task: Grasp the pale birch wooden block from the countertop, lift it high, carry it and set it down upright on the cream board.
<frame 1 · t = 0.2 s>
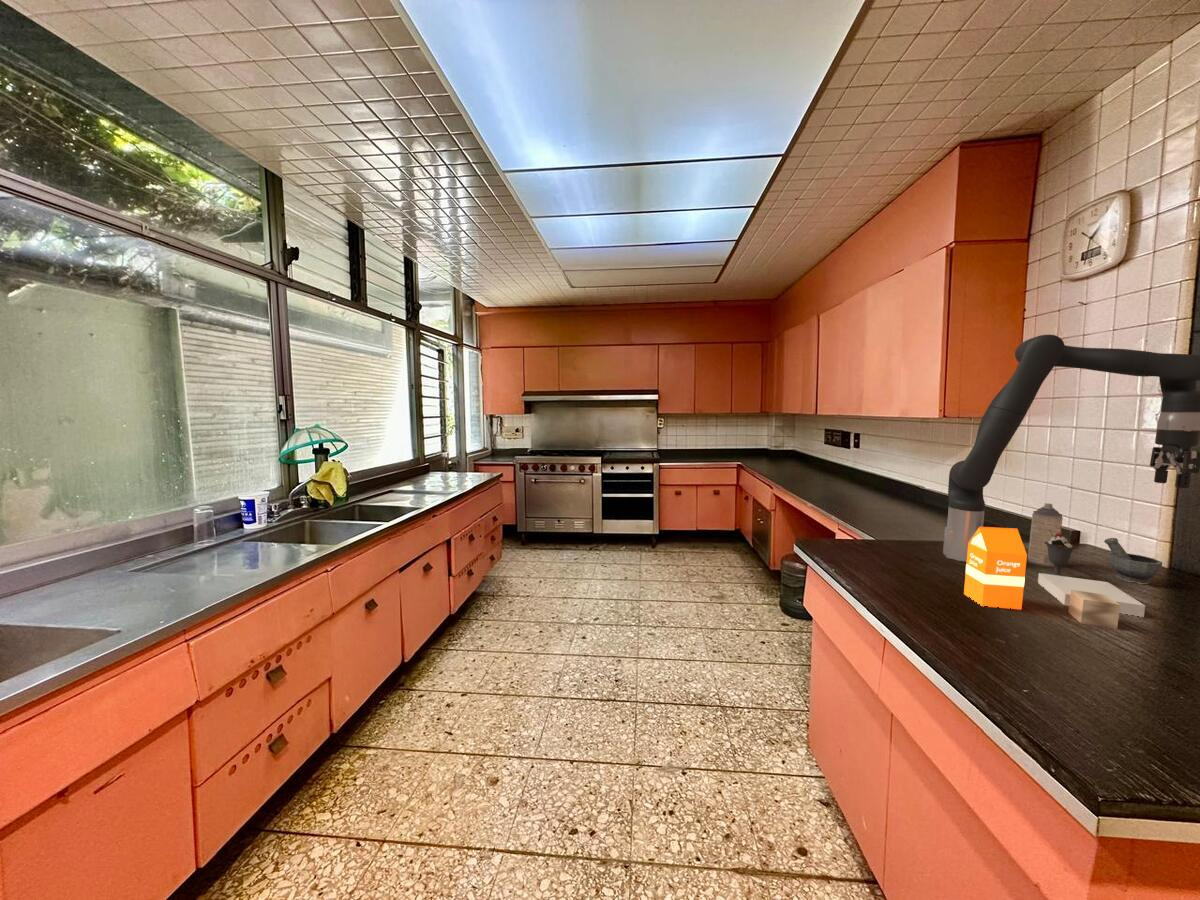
hand: (1170, 485, 122), 29 cm above the counter, tool pointing down, fingers open, 8 cm apart
birch block: (1091, 620, 103), on the counter
orange juice: (991, 602, 114), on the counter
sundae: (1056, 577, 130), on the counter
cream board: (1086, 598, 115), on the counter
mortar and pestle: (1128, 580, 128), on the counter
aerosol can: (1042, 564, 141), on the counter
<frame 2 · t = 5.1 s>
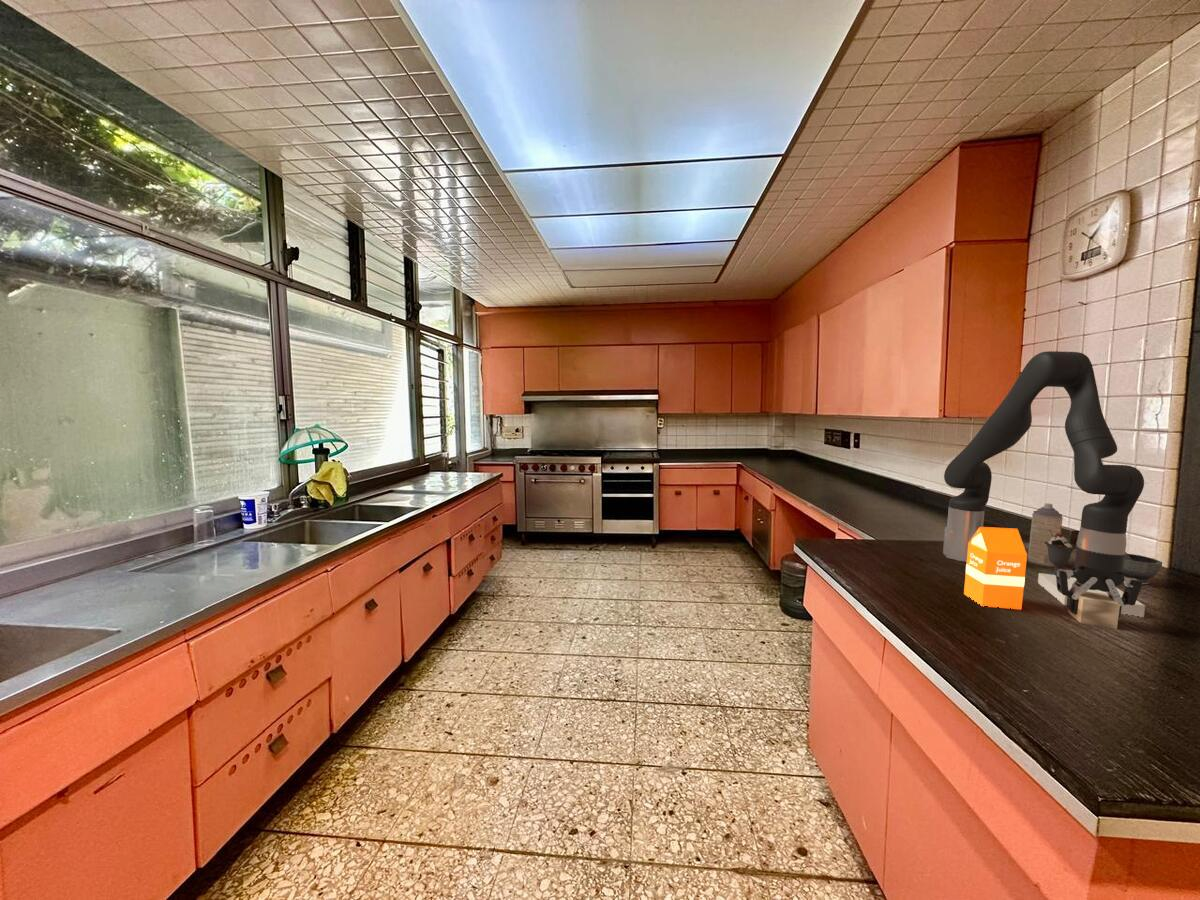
hand: (1092, 615, 103), 1 cm above the counter, tool pointing down, fingers closed on birch block, 6 cm apart
birch block: (1091, 620, 103), on the counter, touching gripper
everything else where it was.
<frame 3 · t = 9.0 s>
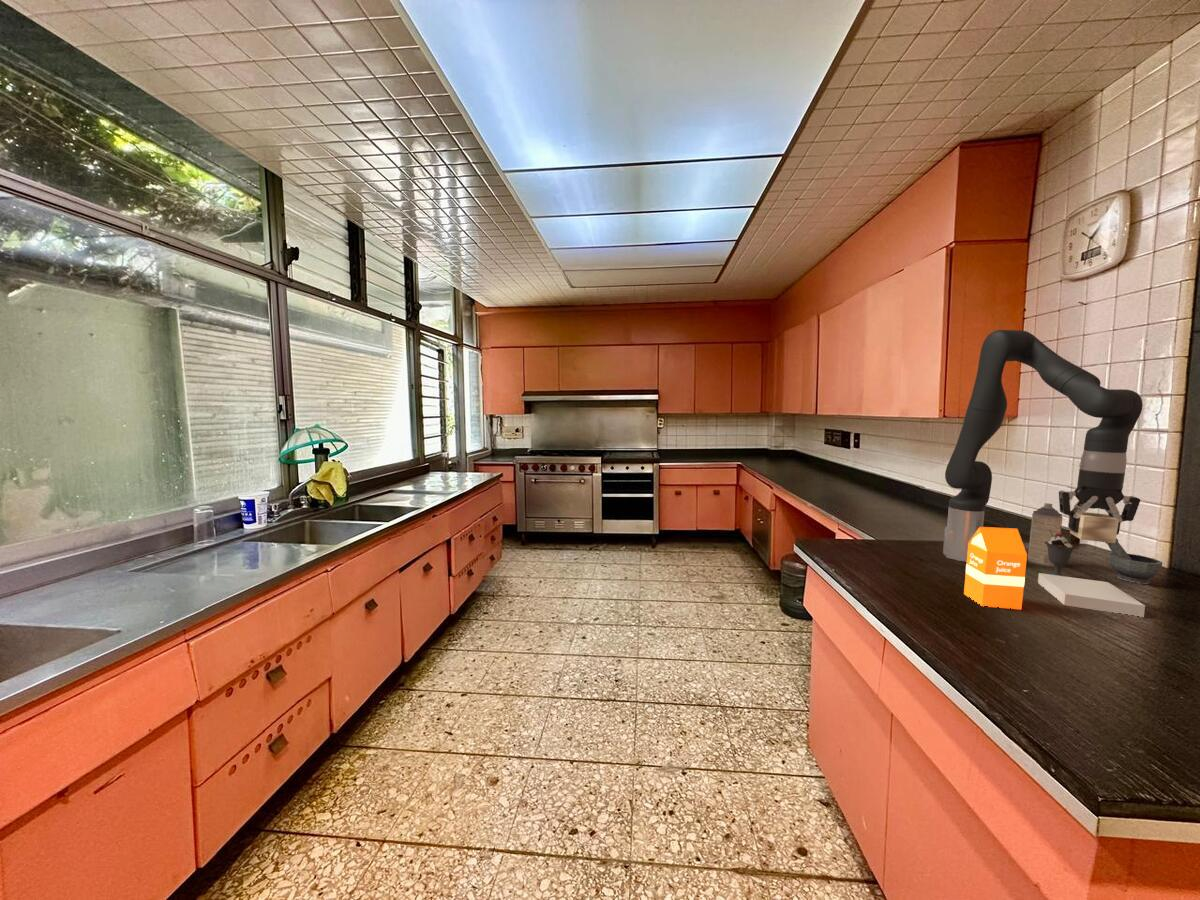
hand: (1092, 533, 110), 19 cm above the counter, tool pointing down, fingers closed on birch block, 6 cm apart
birch block: (1091, 537, 110), point 18 cm above the counter, touching gripper
everything else where it was.
when the fingers open (6 cm above the counter, at t = 13.0 s): birch block drops 1 cm, resting on cream board.
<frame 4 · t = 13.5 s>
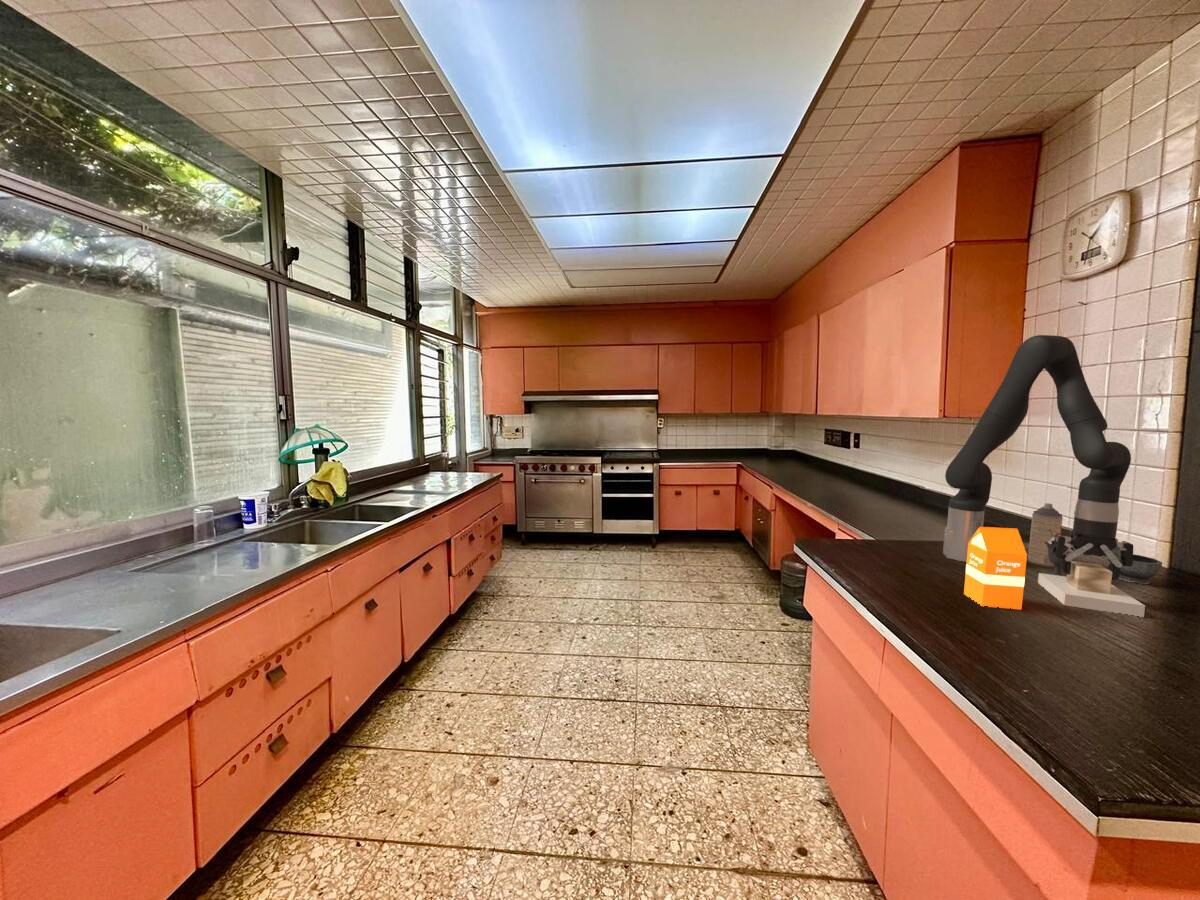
hand: (1088, 576, 115), 6 cm above the counter, tool pointing down, fingers open, 8 cm apart
birch block: (1087, 587, 115), point 3 cm above the counter, touching cream board
everything else where it was.
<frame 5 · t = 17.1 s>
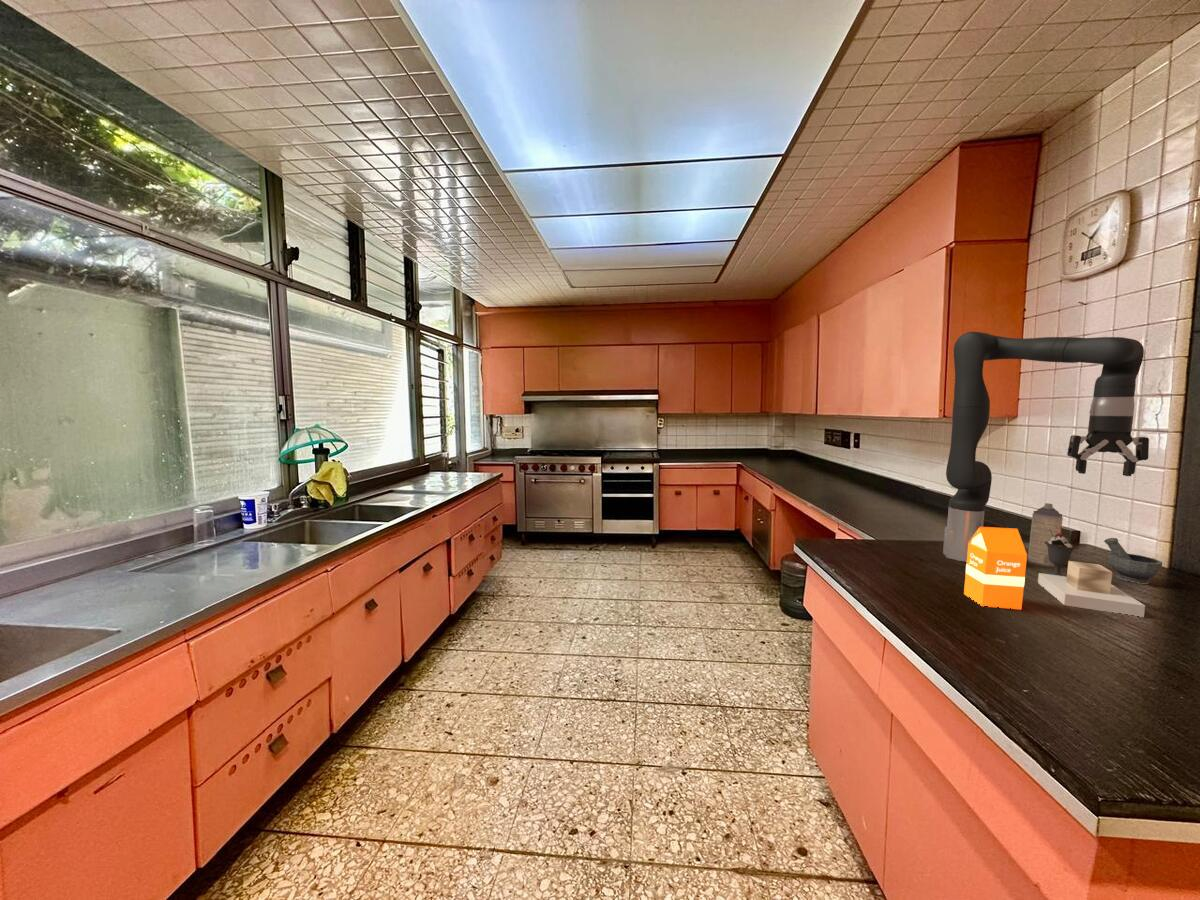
hand: (1103, 474, 116), 33 cm above the counter, tool pointing down, fingers open, 8 cm apart
nothing on the counter moved.
at the end: birch block inside the target area on the cream board (0.0 cm from its centre), point 3.0 cm above the cream board's base; birch block tilted 0°; the gripper is holding nothing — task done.
